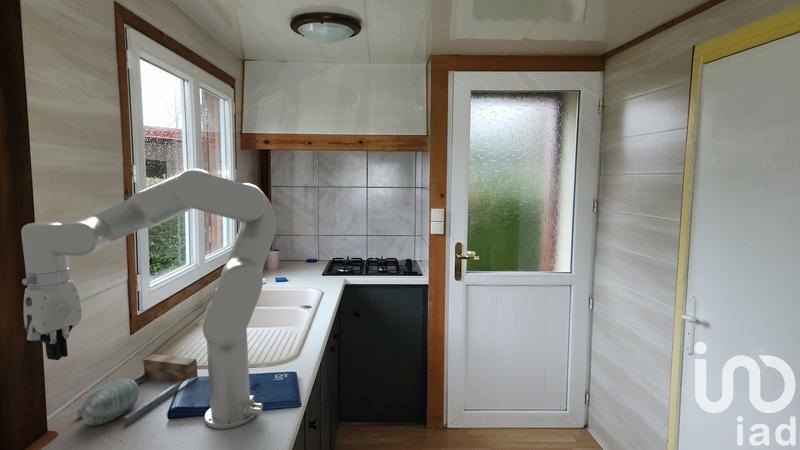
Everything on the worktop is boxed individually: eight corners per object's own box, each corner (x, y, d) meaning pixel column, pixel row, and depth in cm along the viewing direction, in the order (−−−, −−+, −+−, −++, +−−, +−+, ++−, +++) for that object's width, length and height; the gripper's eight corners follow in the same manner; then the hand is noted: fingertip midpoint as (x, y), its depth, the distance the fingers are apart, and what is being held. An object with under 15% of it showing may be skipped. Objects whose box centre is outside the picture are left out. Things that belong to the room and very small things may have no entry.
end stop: (197, 377, 139) (196, 359, 138) (188, 384, 135) (187, 364, 134) (154, 372, 142) (153, 354, 142) (144, 378, 139) (143, 359, 138)
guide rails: (188, 384, 135) (188, 377, 135) (128, 425, 114) (127, 418, 113) (144, 378, 139) (144, 372, 138) (78, 417, 117) (77, 410, 117)
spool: (120, 385, 127) (122, 362, 122) (146, 405, 125) (148, 382, 120) (71, 421, 116) (70, 397, 111) (99, 443, 114) (99, 419, 109)
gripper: (26, 288, 93) (36, 374, 95) (93, 271, 107) (100, 346, 110) (-2, 286, 95) (9, 370, 97) (67, 269, 109) (75, 343, 112)
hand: (57, 357), depth 104 cm, fingers closed
